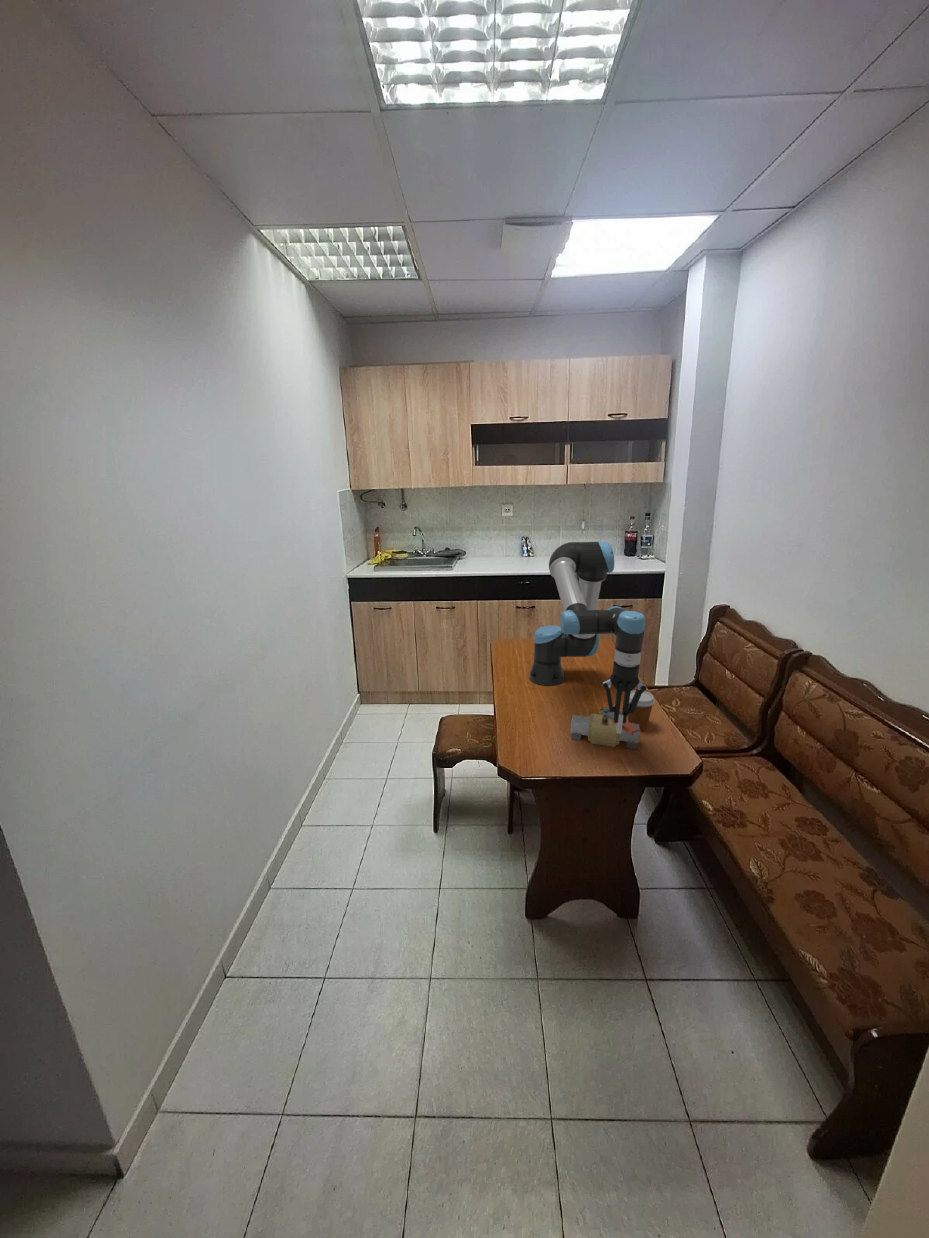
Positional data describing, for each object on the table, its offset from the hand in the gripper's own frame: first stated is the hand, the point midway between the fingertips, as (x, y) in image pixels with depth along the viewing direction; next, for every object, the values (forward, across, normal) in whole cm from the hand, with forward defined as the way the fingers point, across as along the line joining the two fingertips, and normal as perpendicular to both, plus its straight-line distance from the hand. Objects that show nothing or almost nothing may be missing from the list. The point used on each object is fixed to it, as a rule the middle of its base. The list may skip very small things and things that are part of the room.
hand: (618, 731), depth 153 cm
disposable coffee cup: (+10, +10, +21) cm, 25 cm away
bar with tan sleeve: (+10, -3, +10) cm, 14 cm away
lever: (0, +1, +5) cm, 5 cm away
